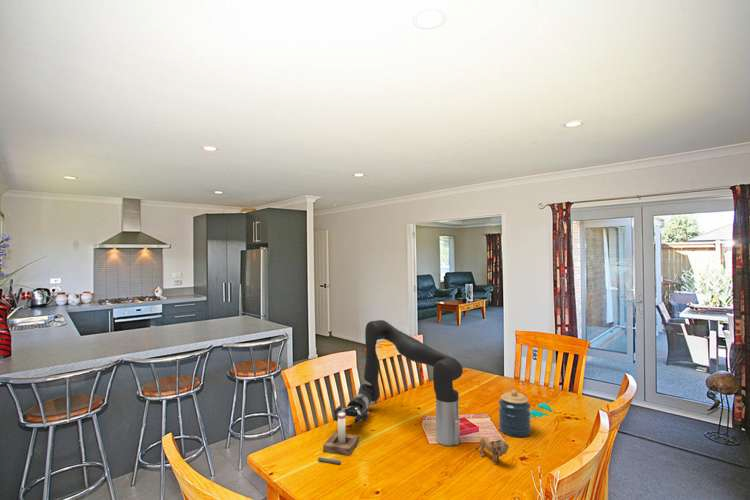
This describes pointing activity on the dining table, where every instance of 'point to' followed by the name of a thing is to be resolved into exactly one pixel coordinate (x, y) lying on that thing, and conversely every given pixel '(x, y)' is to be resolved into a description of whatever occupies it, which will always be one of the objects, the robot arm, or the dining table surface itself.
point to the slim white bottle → (341, 428)
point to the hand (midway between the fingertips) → (345, 420)
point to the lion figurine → (493, 448)
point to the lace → (329, 460)
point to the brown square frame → (339, 448)
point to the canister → (514, 414)
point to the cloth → (538, 413)
